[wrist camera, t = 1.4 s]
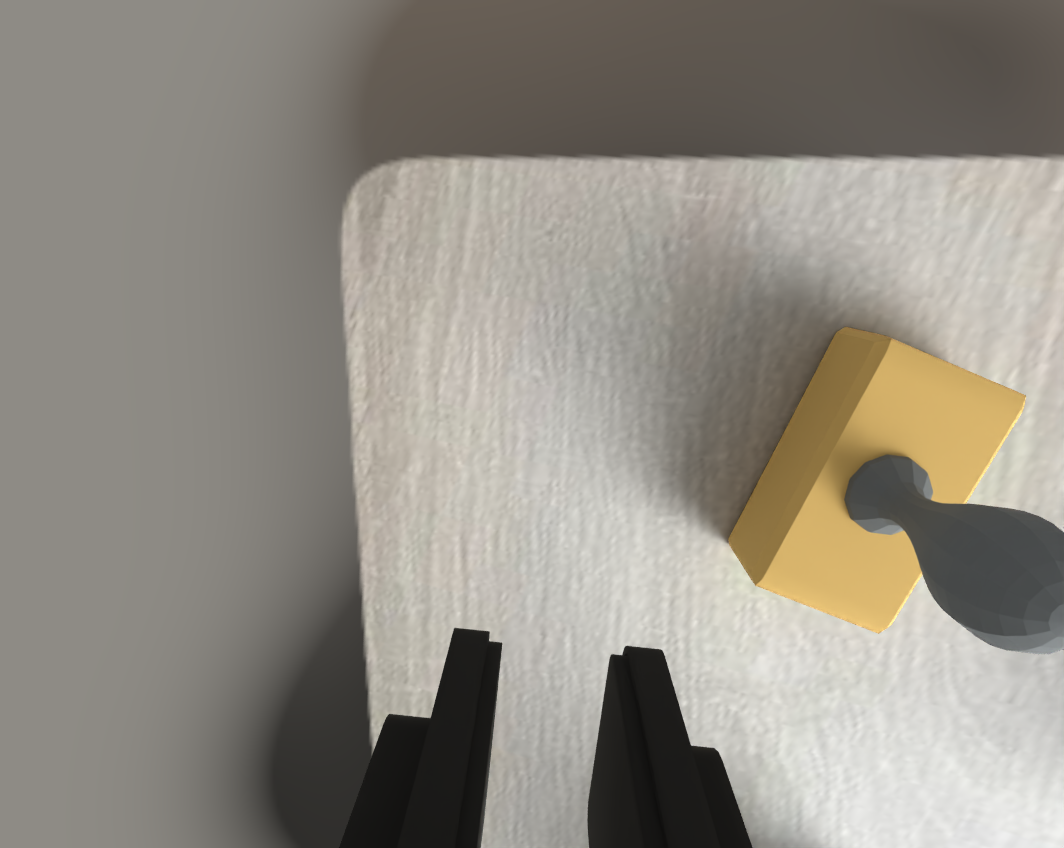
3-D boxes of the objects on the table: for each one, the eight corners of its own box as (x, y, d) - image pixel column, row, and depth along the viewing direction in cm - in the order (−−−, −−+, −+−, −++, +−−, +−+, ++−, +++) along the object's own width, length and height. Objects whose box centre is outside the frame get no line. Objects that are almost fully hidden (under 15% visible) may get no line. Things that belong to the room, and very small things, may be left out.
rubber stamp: (836, 323, 25) (1087, 376, 13) (968, 379, 25) (1324, 478, 14) (722, 542, 27) (850, 751, 16) (845, 590, 28) (1059, 829, 16)
